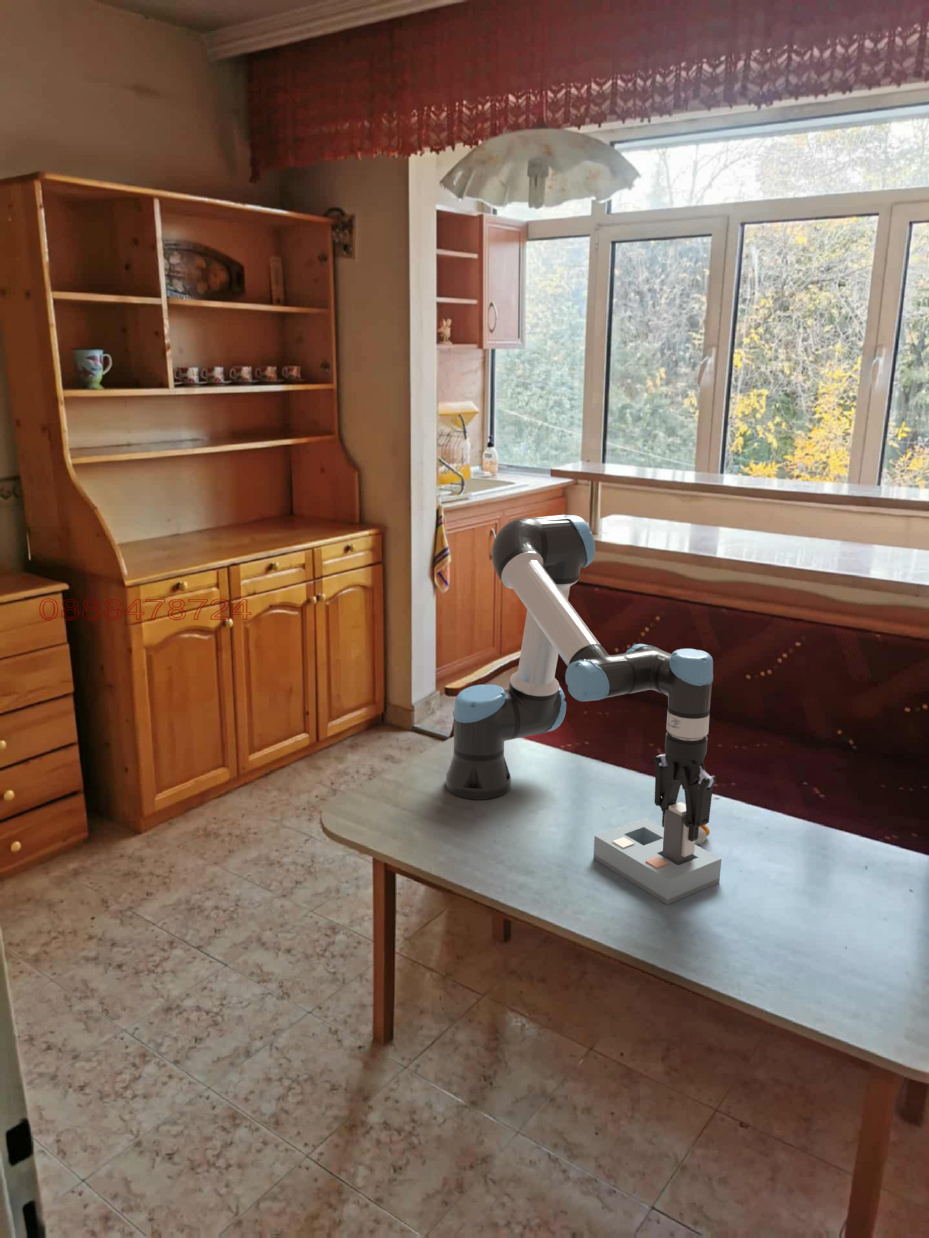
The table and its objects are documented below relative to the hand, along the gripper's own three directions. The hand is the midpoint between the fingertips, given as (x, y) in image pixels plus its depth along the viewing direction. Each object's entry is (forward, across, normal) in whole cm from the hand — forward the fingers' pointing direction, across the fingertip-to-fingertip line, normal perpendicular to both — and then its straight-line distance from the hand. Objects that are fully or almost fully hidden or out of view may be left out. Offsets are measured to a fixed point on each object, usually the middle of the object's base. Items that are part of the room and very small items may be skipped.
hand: (678, 848), depth 177 cm
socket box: (+6, -5, -1) cm, 8 cm away
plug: (+2, 0, 0) cm, 2 cm away
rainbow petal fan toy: (+7, -11, +14) cm, 19 cm away
